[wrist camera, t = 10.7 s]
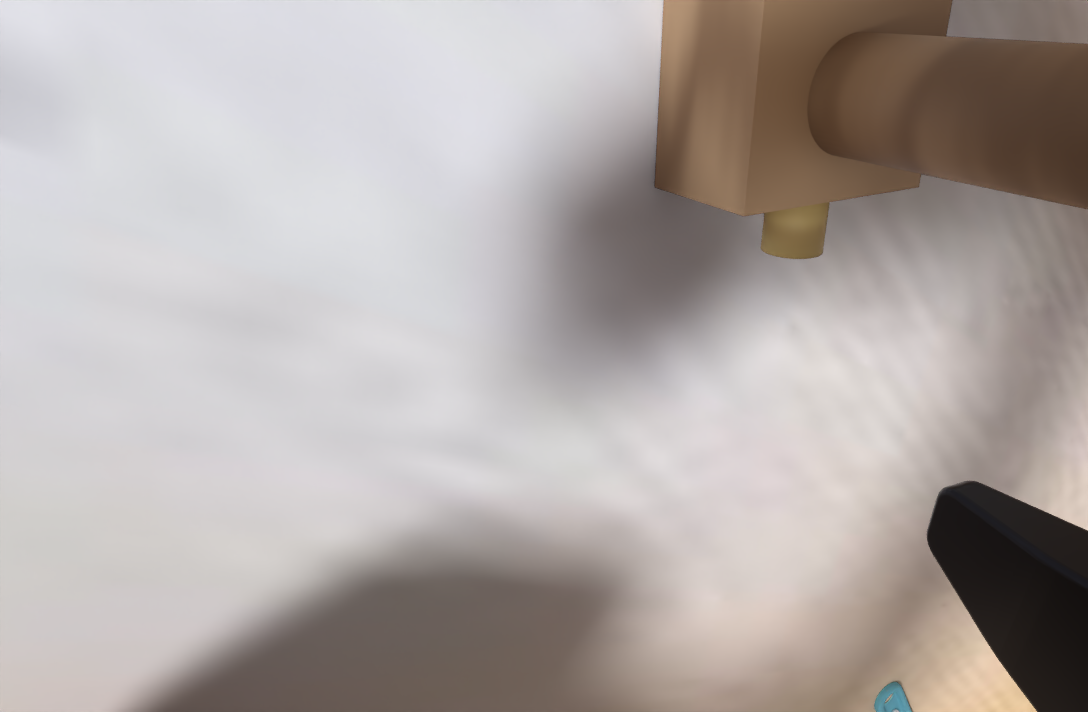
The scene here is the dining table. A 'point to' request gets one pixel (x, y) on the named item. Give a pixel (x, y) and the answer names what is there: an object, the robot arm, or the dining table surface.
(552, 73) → the dining table surface
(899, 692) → the blue flat looped piece
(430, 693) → the dining table surface
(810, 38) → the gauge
